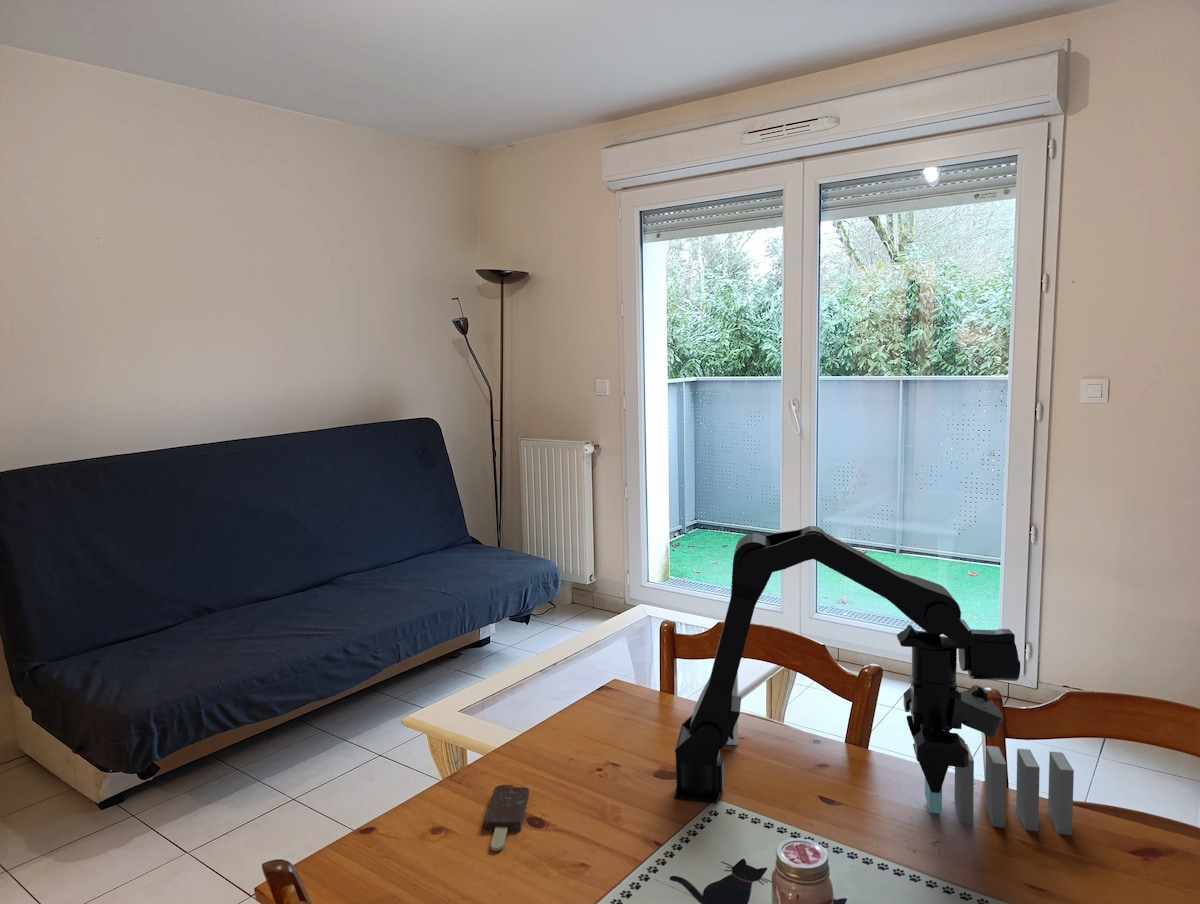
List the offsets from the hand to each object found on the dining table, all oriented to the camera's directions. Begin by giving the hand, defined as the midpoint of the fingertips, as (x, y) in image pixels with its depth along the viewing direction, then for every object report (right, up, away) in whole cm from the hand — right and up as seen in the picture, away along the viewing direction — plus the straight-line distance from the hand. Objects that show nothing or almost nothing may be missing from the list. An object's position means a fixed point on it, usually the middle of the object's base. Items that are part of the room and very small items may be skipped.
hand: (932, 782), depth 110 cm
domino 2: (+8, -4, -2) cm, 9 cm away
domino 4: (+16, -4, -4) cm, 16 cm away
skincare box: (-25, -3, +24) cm, 35 cm away
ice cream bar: (-61, -7, +2) cm, 61 cm away
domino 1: (+4, -4, -1) cm, 6 cm away
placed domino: (0, -3, 0) cm, 3 cm away
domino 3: (+12, -4, -3) cm, 13 cm away
